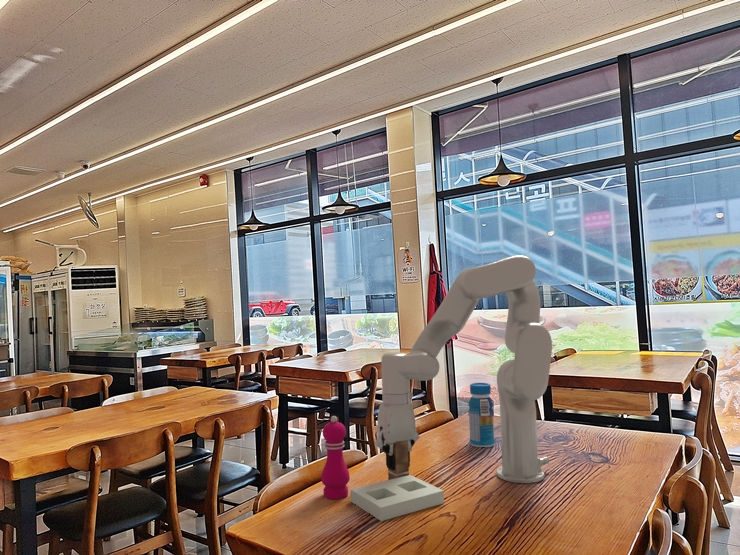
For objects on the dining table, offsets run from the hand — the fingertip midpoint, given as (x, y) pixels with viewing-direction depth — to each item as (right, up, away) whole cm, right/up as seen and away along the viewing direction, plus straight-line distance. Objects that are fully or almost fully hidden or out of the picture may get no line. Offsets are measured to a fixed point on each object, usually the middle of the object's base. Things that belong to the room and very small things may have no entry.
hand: (398, 466), depth 145 cm
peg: (0, -4, 0) cm, 4 cm away
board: (-1, -4, -14) cm, 14 cm away
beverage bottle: (+30, -5, +34) cm, 45 cm away
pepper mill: (-16, -5, -8) cm, 19 cm away
